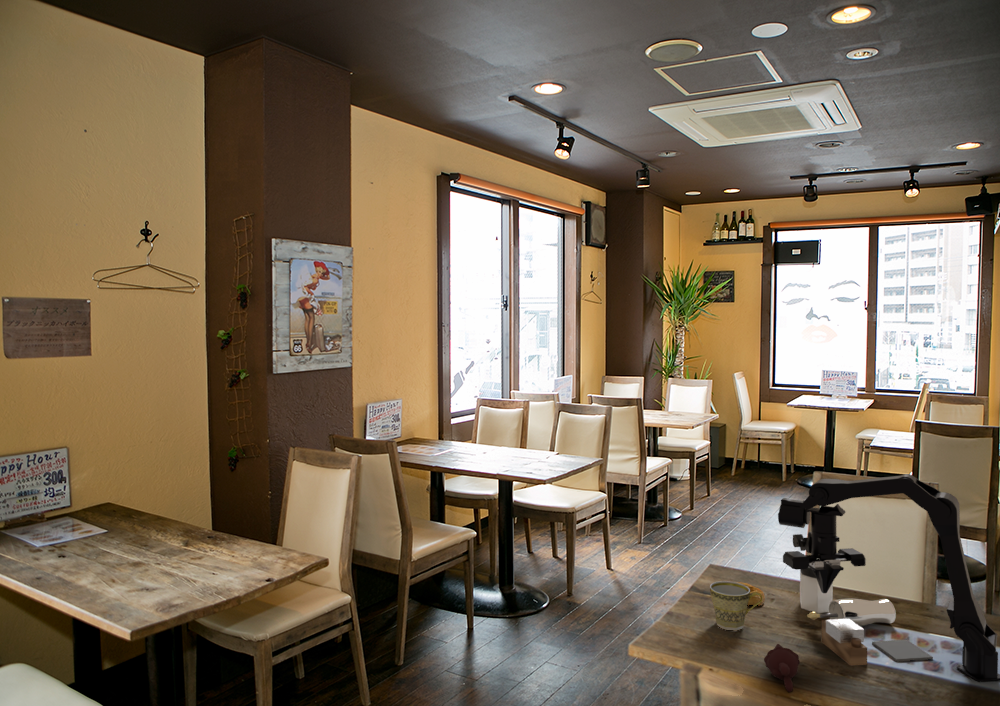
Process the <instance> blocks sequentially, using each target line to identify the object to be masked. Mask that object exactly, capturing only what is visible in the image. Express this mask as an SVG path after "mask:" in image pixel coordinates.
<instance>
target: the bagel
mask: <svg viewBox="0 0 1000 706" xmlns="http://www.w3.org/2000/svg"><path fill="white" fill-rule="evenodd" d="M735 582H736V583H740V584H743V585H745V586H747V587H748V588H749V589H750V593H752V592H758V593H760V594H761V596H762V602H761V603H760V604H758V606H757V605H756V606H755V607H761V606H763V605H764V603H765V601H766V597H765V593H764V592H763V590H761V589H760V587H759V588H758V587H756V586H753V585H751V584H749V583H747V582H740V581H739V582H737V581H735ZM760 600H761V597H760V596H759V595H754V596H752V597H751V599H750V600H749V602H748V606H747V607H750V606H749V605H754V604H756V603H758V602H759V601H760ZM760 605H761V606H760Z"/></svg>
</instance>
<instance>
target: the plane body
mask: <svg viewBox="0 0 1000 706" xmlns="http://www.w3.org/2000/svg"><path fill="white" fill-rule="evenodd" d="M826 620H832V619H830V618H828V619H827V618H823V619H821V643H822V644H823V645H825V646H826V647H827V648H828V649H829V650H831V651H832V652H833V653H835V654H836V656H838V657H839V658H841V660H843V661H845V662H846V663H847V664H848V665H849V666H852V667H853V666H867V665H868V647H867V646H866V645H865V644H863V642H861V639H859V638H851V643H839V642H838V641H837V640H835V639H834V638H833V637H831V636H830V635H829V634H828V633H826Z"/></svg>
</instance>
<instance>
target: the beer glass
mask: <svg viewBox="0 0 1000 706" xmlns="http://www.w3.org/2000/svg"><path fill="white" fill-rule="evenodd" d="M896 612H897V611H896V609H895V606H894V604H893V602H891V601H890V599H888V598H881V599H876V600H867V599H860V598H840V599H833V600H832V601H831V602H830V603H829V606H828V612H827V614H829V613H837V614H838V617H829V619H850V620H851V621H853V622H854V623H856V624H857V625H859V626H860V627H864V626H867V625H871V624H872V625H873V624H875V623H882V624H892V623H894V622H895V620H896V617H897V613H896Z"/></svg>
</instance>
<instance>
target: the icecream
mask: <svg viewBox="0 0 1000 706" xmlns="http://www.w3.org/2000/svg"><path fill="white" fill-rule="evenodd" d="M763 661H764V664H765V667H766V668H767V669H768V671H769V672H770V673H771V675H772V676H773V677H775V678H777V679H779V680H781V681H783V683H784V688H785V690H786V692H788V693H791V692H792V691H794V690H793V689H794V684H793V681H792V679H793V678H794V677H795V676H796V675H797V674H798V671H799V669H798V668H799V665H800V663H801V662H800V657H799V654H798V653H796V652H794V651H793V650H792V649H791V648H788V647H783V645H781V644H780V643H776V645H775V646H774V648H773V649H771V650H768V652H767V653H766V656H765V657H764V658H763Z"/></svg>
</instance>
